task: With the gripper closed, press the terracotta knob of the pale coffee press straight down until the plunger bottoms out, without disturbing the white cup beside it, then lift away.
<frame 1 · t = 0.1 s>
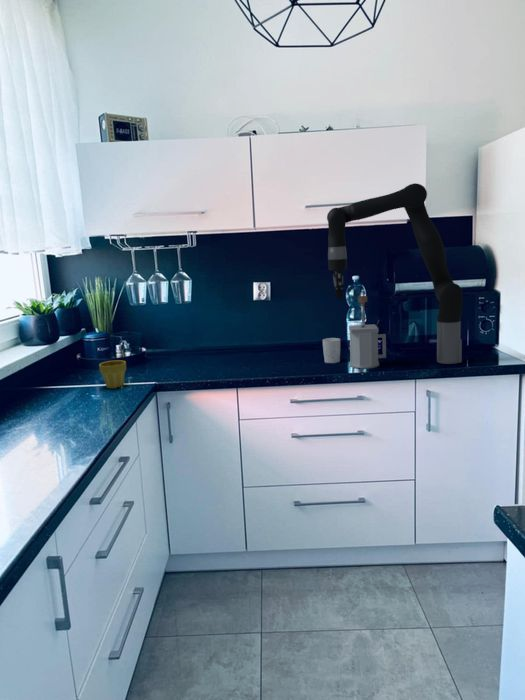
hand: (338, 297, 227), 29 cm above the countertop, fingers open, 8 cm apart
white cup: (332, 362, 243), on the countertop
plunger: (363, 315, 228), point 21 cm above the countertop, slide at 0.0 cm
plant pot: (115, 386, 222), on the countertop
press: (364, 365, 232), on the countertop
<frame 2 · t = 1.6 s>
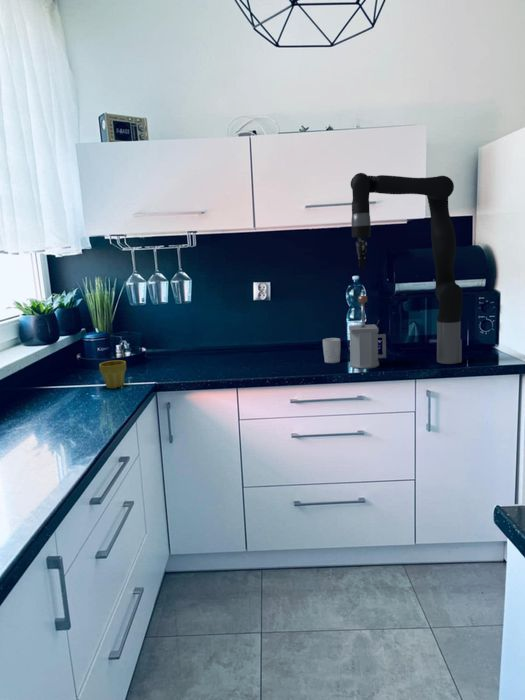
hand: (362, 268, 224), 41 cm above the countertop, fingers closed
nothing on the countertop moved.
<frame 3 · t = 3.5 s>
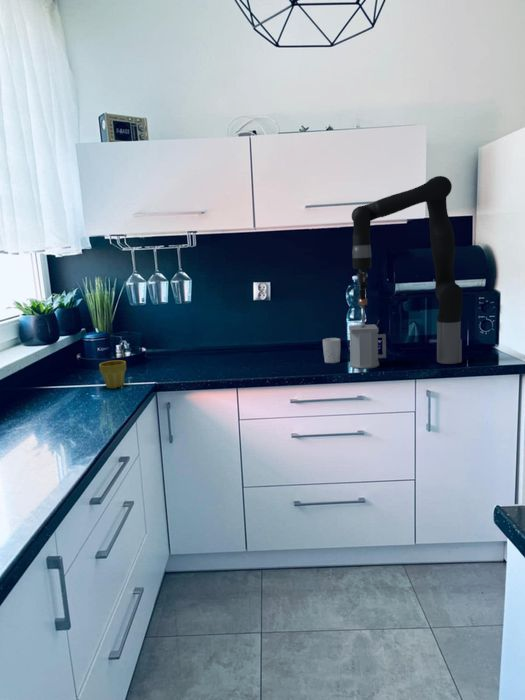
hand: (362, 298, 227), 28 cm above the countertop, fingers closed
plunger: (363, 318, 228), point 20 cm above the countertop, slide at 1.1 cm, touching gripper
everything else where it was.
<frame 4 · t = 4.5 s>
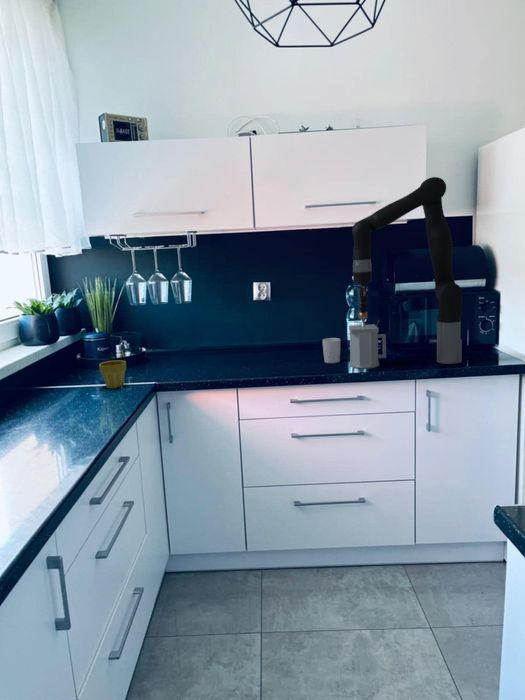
hand: (363, 312, 228), 23 cm above the countertop, fingers closed
plunger: (363, 331, 229), point 15 cm above the countertop, slide at 6.8 cm, touching gripper
everything else where it was.
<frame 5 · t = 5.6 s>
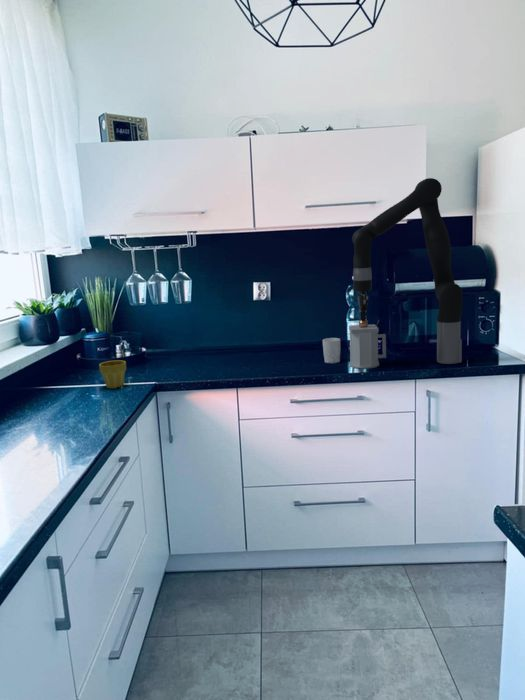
hand: (363, 320, 228), 19 cm above the countertop, fingers closed
plunger: (363, 339, 230), point 11 cm above the countertop, slide at 10.1 cm, touching gripper
everything else where it was.
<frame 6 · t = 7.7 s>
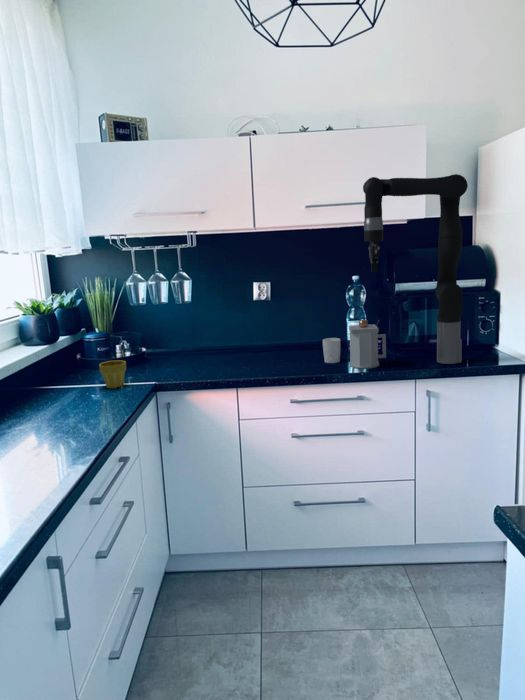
hand: (374, 272, 224), 39 cm above the countertop, fingers closed
plunger: (363, 339, 230), point 11 cm above the countertop, slide at 10.1 cm
everything else where it was.
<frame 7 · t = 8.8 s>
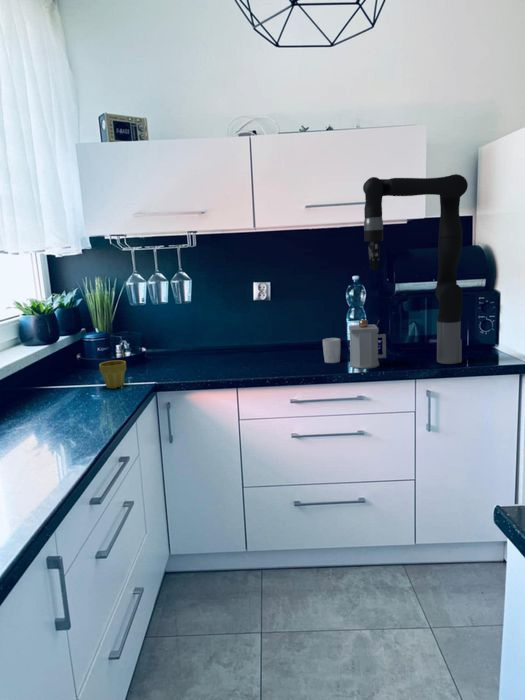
hand: (374, 269, 224), 40 cm above the countertop, fingers open, 8 cm apart
nothing on the countertop moved.
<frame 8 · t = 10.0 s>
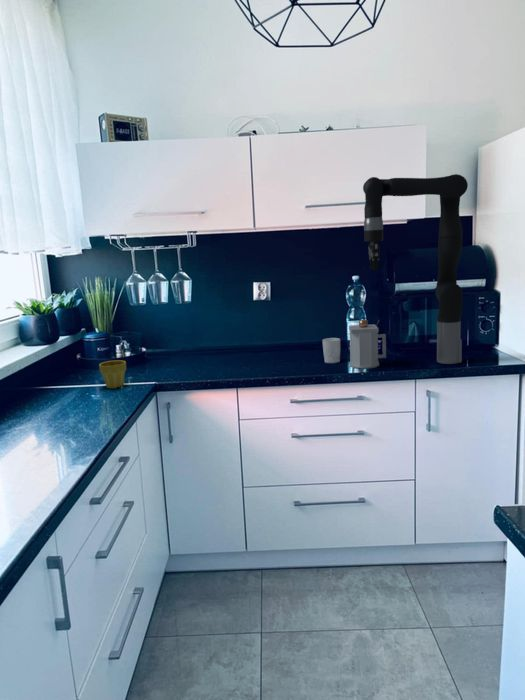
hand: (374, 269, 224), 40 cm above the countertop, fingers open, 8 cm apart
nothing on the countertop moved.
at the end: plunger slide at 10.1 cm; white cup moved 0.2 cm from its start; white cup tilted 0° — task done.
